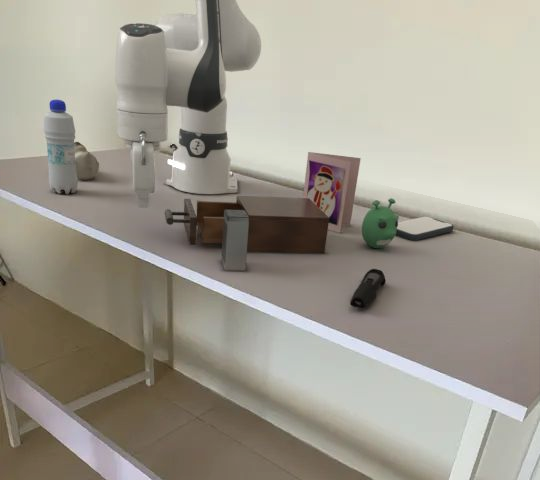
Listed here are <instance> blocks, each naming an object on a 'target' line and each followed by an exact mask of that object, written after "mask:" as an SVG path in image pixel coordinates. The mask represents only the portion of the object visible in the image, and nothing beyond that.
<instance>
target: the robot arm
mask: <svg viewBox="0 0 540 480" xmlns="http://www.w3.org/2000/svg"><path fill="white" fill-rule="evenodd" d="M194 1H195V9H196V10H195V11H196V14H190V13H182V12H181V13H179V12H178V13H172V14H165V15H161V16H160V17H159V18H158V19H157V21H156V22H155V24H150V23H140V22H138V23H137V22H136V23H128V24H127V23H126V24H124V25H123V26H121V27H119V29H118V33H117V37H116V44H115V45H116V47H115V60H114V61H115V64H114V65H115V71H114V73H115V75H114V76H115V84H116V88H117V101H116V105H115V109H116V110H115V111H116V113H115V114H116V137H117V138H118V139H121V140H124V148H126V149H128V150H129V155H130V162H131V168H132V169H131V170H132V189H133V192H134V193H137V206H138V208H140V209H141V208H142V209H147V208H148V207H149V195H150V194H153V193H154V192H155V189H156V167H155V166H156V159H155V157H156V156H155V151H159V150H160V149H161V143H162V142H166V141H168V127H169V126H168V124H169V123H168V121H169V119H168V118H169V117H168V116H169V114H168V107H175V108H180V119H181V120H180V128H179V132H178V144H179V146H178V145H176V144H175V143H174V144H172V143H171V144H172V145H171V144H170V145H169V148H174V149H175V150H174V151H173V154H172V159H167V164H168V165H171V177H170V178H167V179H166V180H165V184H166V185H168V186H170V187H173V188H174V189H176V190H178V191H181V192H186V193H190V194H199V195H220V194H235V193H238V177H237V176H234V172H233V171H231V161H232V159H231V158H232V157H230V154H229V151H228V149H227V148H228V141H229V139H228V131H227V115H228V102H227V101H228V100H227V98H226V91H227V76H226V75H227V74H226V72H231V73H233V72H242V71H243V72H244V71H251V69H253V68H254V67H255V66H256V65H257V63H258V61H259V59H260V56H261V52H262V39H261V35H260V32H259V31H258V29H257V27H256V26H255V25H254V24H253V23H252V22H251V21H250V20H249V19H248V18H247V16H246V15H245V14H244V13H243V11H242V10H241V8H240V6H239V4H238V2H237V0H194Z"/></svg>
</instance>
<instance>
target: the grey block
mask: <svg viewBox="0 0 540 480" xmlns="http://www.w3.org/2000/svg"><path fill="white" fill-rule="evenodd" d="M248 229H249V216H248V215H247V213H246V211H245V210H224V222H223V240H222V243H221V263H222V266H223V269H224V271H227V272H229V271H233V272H235V271H237V272H239V271H241V272H243V271H244V272H245V271H246V267H247V266H246V265H247V255H248V252H247V243H248Z"/></svg>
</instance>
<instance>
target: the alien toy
mask: <svg viewBox="0 0 540 480" xmlns="http://www.w3.org/2000/svg"><path fill="white" fill-rule="evenodd" d="M387 201H388V203H389V204H388V206H385V205H380V204H381V201H380V200H377V199H374V201H372V203H371V204H372V206H374V207H372V208H371V209H369V210H368V211H367V213H366V214H365V215H364V217H363V220H362V223H361V232H362V233H361V234H362V238H363V241H364V242H365V243H366V244H367V245H368V246H370V247H371V248H374V249H383V248H385V247H387V246H389V244H390V243H391V242H392V241H393V239H394V238H395V237H397V235H396V230H397V226H398V222H399V218H400V215H397V214H396V213H395V212H394V211H393V209H391V207H392V205H393V204H396V200H395V199H394V198H391V197H390V198H388V199H387Z"/></svg>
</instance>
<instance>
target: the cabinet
mask: <svg viewBox="0 0 540 480" xmlns="http://www.w3.org/2000/svg"><path fill="white" fill-rule="evenodd" d="M235 199H236V200H235V202H238V203H239V204H240V206H241V208H242V209H243V210H245V211H246V213H247V215H248V216H249V229H248V243H247V253H272V254H273V253H277V254H279V253H280V254H283V253H284V254H325V251H326V246H327V238H328V232H329V231H328V230H329V229H328V224H329V217H328V216H327V215H326V214H325V213H324V212H323V211H322V210H321V209H320V208H319V207H318V206H317V205H316V204H315V203H313V202H312V201H311V200H310V199H309V198H303V197H285V196H284V197H283V196H260V195H259V196H258V195H236V198H235Z"/></svg>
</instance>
